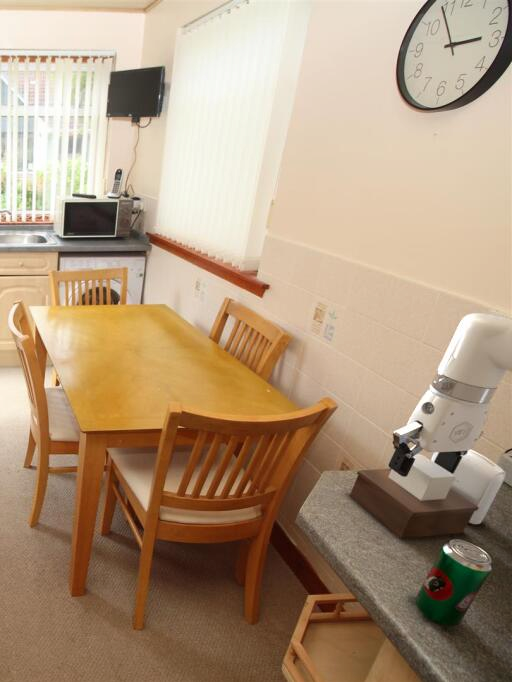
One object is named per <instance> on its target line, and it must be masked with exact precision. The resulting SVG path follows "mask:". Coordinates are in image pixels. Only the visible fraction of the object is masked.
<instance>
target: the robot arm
mask: <svg viewBox="0 0 512 682" xmlns="http://www.w3.org/2000/svg"><path fill="white" fill-rule="evenodd" d="M444 353H445V354H444V355H443V357H442V360H441V361H440V363H439V365H438V367H437V370H436V372H435V374H434V376H433V379H432V380H431V382H430V384H429V389H427V391H426V392H425V393H424V395H423V396H422V397H421V399H420V400H419V402H418V403H417V405H416V407H415V409H414V410H413V412H412V414H411V416H410V417H409V419H408V422H407V423H406V425H405V426H402V427H401V428H398V429H396V430H394V431H393V433H392V439H393V440H392V445H393V449H394V451H393V454H392V455H391V458H390V460H389V463H388V467H389V468H391V469H392V470H394V471H395V472H397V473H398V474H399V475H401V476H402V477H406V476H407V475H408V473H409V471H410V469H411V467H412V465H413V463H414V461H415V458H413V456H415V455H416V454H420V452H421V451H423V450H424V451H425V452H428V453H434V452H439V453H438V455H437V457H436V459H435V461H434V463H436V464H437V465H439V466H441V467H442V468H444V469H445V470H447V471H449V472H450V473H452V474H453V473H454V472H455V470H456V468H457V466H458V464H459V463H460V461H461V459H462V456H464V455H466V454H467V453H468V450H470V449H471V450H473V448H474V447H475V446H476V443H477V442H478V441H479V439H480V438H481V437H482V436H483V435H484V433H485V432H484V430H483V429H484V426H485V424H486V422H487V419H488V416H489V413H490V409H491V405H492V398H493V397H494V395H495V393H496V391H497V389H498V387H499V385H500V384H501V382H502V380H503V378H504V376H505V374H506V373H507V371H509V372H511V373H512V319H511V318H508V317H504V316H500V315H496V314H489V313H480V312H479V313H469V314H467V315H465V316H464V317H463V318H462V319H461V320H460V322H459V324H458V326H457V328H456V329H455V332H454V334H453V336H452V339H451V340H450V342H449V345H448V347H447V349H446V351H445V352H444ZM410 443H411V444H413V445H414V446H413V447H411V448H410V447H409V444H410ZM461 455H462V456H461Z"/></svg>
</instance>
